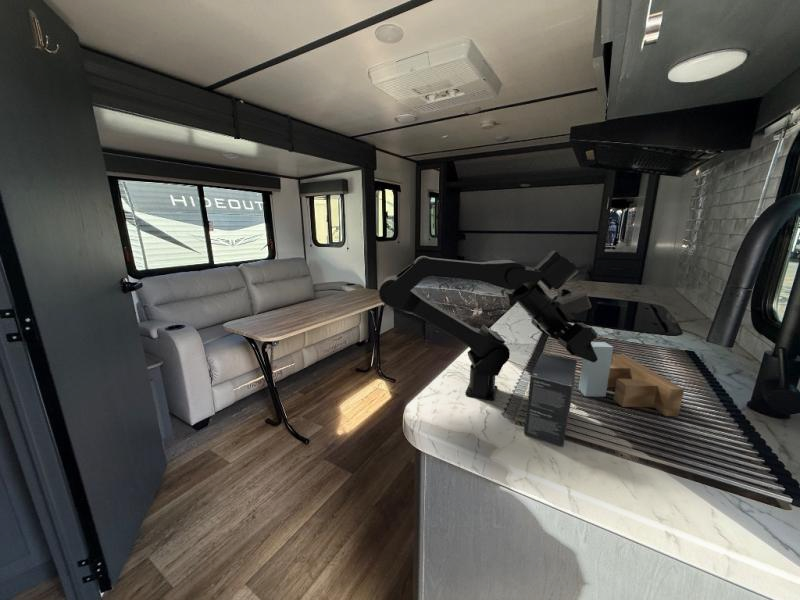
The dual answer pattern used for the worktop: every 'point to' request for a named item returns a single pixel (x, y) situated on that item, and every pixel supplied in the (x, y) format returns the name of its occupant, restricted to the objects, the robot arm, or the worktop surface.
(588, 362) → the post
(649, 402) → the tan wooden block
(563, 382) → the small box
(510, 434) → the worktop surface
